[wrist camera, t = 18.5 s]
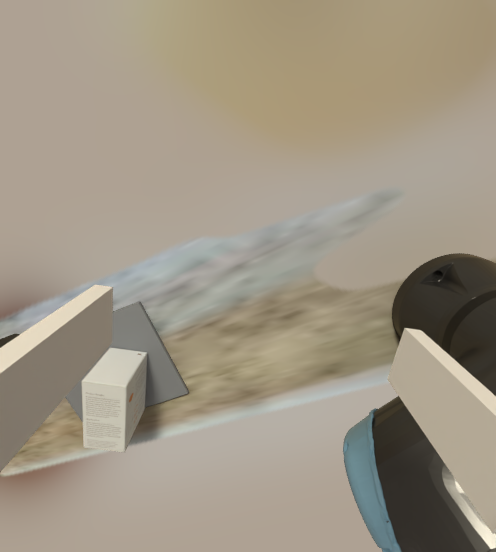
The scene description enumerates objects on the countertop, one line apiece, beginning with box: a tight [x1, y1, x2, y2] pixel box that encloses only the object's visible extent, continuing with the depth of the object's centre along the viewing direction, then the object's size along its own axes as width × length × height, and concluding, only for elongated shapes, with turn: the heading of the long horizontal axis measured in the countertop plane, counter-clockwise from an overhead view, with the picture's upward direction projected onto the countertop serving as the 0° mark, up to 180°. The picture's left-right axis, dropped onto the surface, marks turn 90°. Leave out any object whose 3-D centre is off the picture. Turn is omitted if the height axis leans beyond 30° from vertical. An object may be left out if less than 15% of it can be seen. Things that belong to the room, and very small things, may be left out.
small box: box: [82, 348, 147, 452], centre depth 42 cm, size 8×6×10 cm
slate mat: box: [65, 301, 189, 422], centre depth 45 cm, size 18×16×1 cm
